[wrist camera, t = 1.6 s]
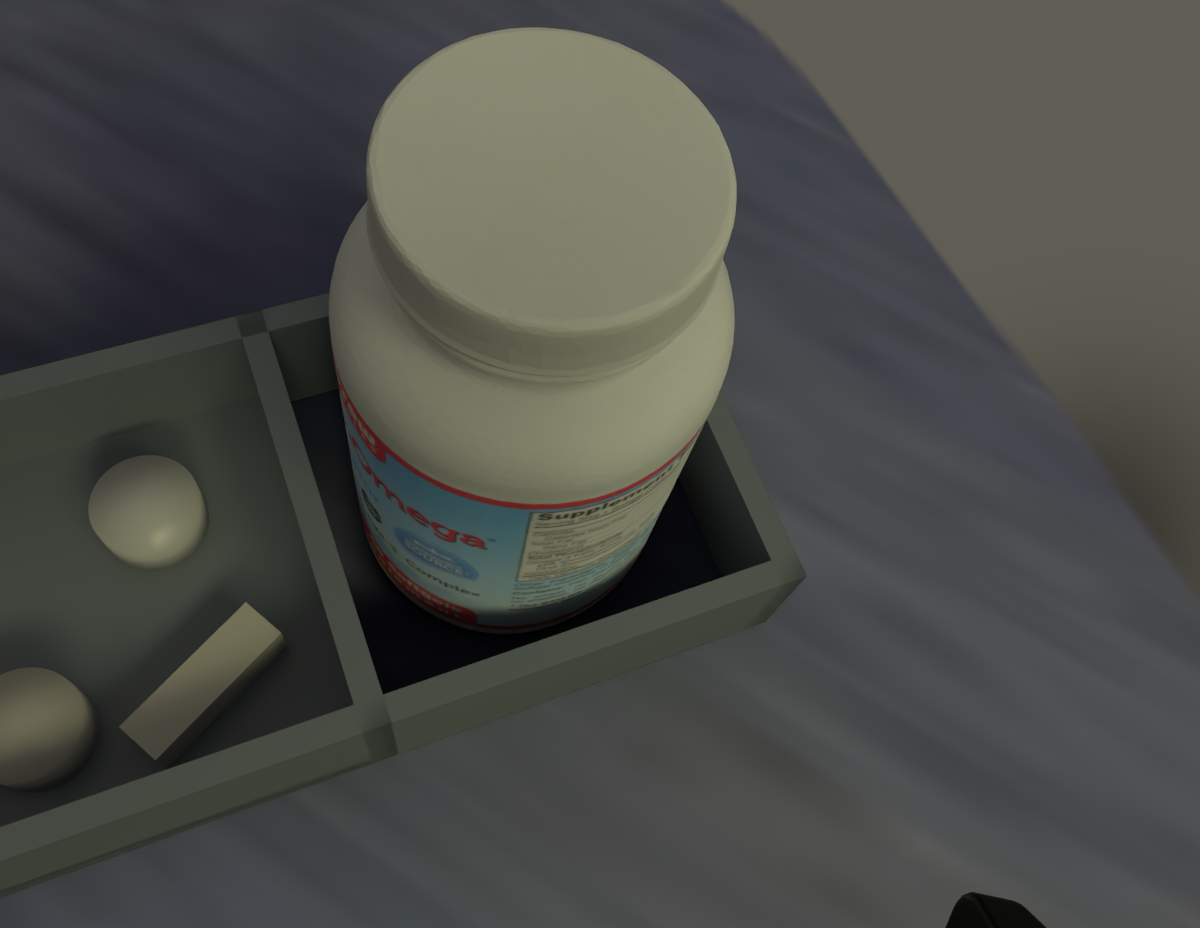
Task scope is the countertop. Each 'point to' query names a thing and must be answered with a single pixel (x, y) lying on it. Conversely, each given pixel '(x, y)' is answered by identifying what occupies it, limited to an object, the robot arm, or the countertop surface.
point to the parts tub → (249, 595)
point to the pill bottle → (530, 320)
